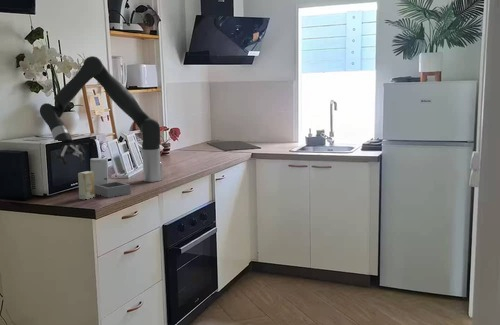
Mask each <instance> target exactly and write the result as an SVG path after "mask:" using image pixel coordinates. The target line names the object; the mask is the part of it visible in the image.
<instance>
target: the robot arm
mask: <svg viewBox="0 0 500 325" xmlns="http://www.w3.org/2000/svg"><path fill="white" fill-rule="evenodd" d="M93 78H94V79H95V81H97V82H98V83H99V85H100V86H101V87H102V88H103V90H104V91H105V93H106V94H107V95H108V96H109V98H110V99H111V100H112V101H113V103H114V104H115V105H116V106H117V107H119V109H120V110H121V111H122V112H123V113H124V114H125V115H127V116H128V117H129V118H130V119H131V120H132V121H133V122H134V123H135V125H136V126H137V127H138V129H139V131H141V134H142V144H141V151H142V152H141V153H142V170H143V182H146V183H147V182H148V183H152V182H153V183H155V182H160V181H162V180H164V179H163V176H164V175H163V162H161V150H160V149H161V148H160V147H161V146H160V145H161V127H160V123H159V122H158V121H157V120H155V119H154V118H152V117H151V116H149V115H148V114H147V113H146V112H145V111H144V110H143V109H142V108H141V106H140V105H139V103H138V102H137V99H136V98H135V97H134V96H133V95H132V93H131V92H130V91H129V90H128V89H127V88H126V87H125V86H124V85H123V84H122V83H121V82H120V81H119V80H117V79H116V78H115V77H114V75H112V74H111V73H110V72H109V70H108V69H107V68H106V66H105V65H104V63H103V62H102V60H101V59H100V58H99V57H97V56H94V55H93V56H88V57H86V58H85V59H84V61H83V64H82V66H81V67H80V69H79V71H78V72H77V73H76V74H75V75H74V77H72V78H71V79H70V80H69V81H68V82H67V83H66V84H65V85H64V86H63V87H62V88H61V89H60V90H59V91H58V92H57V94H55V96H54V97H53V99H54V102H55V105H52V104H51V103H46V102H45V103H43V104H41V106H40V107H39V115H40V116H41V118H42V120H43V121H44V122H45V124H46V125H47V126H48V129H49V131H50V132H51V135H52V136H51V137H52V138H53V140H54V141H55V140H58V141H62V142H64V143H65V144H64V145H63V146H62V147H61V148H60V149H61V150H62V151H61V153H60V154H59V150H58V151H55V154H56V157H55V156H54V159H55V160H60V162H61V164H62V165H63V166H67V164H68V162H67V160H66V158H65V155H66V156H68V155H73V156H77V157H78V159H79V160H80V163H81V164H84V162H85V157H84V156H85V154H86V150H85V149H84V147H83V145H82V144H81V143H78V144H75V143H74V140H73V138H72V136H71V134H70V132H69V131H68V129H67V126H66V125H65V123H64V121H63V120H62V119H61V117H62V116H63V114H64V111H65V110H66V108H67V106H68V105H69V104H70V103H71V102H72V100H73V99H74V98H75V97H76V96H77V94H79V92H80V91H81V90H82V89H83V87H84V86H85V85H86V84H87V83H88V82H90V81H91V80H92V79H93Z"/></svg>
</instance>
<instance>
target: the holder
mask: <svg viewBox="0 0 500 325" xmlns="http://www.w3.org/2000/svg"><path fill="white" fill-rule="evenodd" d="M96 194H97V196H100V195H101V196H100V197H103V196H104V197H103V198H106V197H108V198H107V199H109V197H111V198H115V196H116V197H121V196H120V195H122V196H127V195H131V194H132V192H131V184H130V183H125V182H121V181H117V180H116V181H112V182H111V181H110V182H108V183H104V184H98V185H95V195H96Z"/></svg>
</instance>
